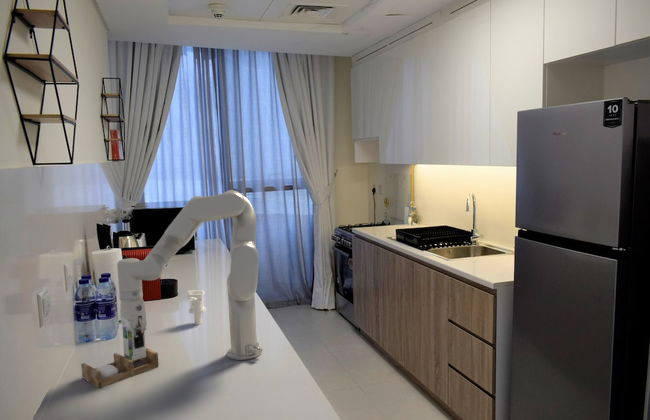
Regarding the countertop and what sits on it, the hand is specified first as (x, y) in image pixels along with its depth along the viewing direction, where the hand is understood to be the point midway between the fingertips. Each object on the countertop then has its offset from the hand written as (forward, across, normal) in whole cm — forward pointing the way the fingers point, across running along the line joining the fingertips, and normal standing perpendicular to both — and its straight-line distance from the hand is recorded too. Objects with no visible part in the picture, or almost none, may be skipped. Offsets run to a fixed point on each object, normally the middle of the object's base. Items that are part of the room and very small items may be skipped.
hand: (134, 344), depth 178 cm
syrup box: (+5, 0, 0) cm, 5 cm away
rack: (+8, 0, +4) cm, 9 cm away
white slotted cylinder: (+8, +23, -41) cm, 48 cm away
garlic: (+9, +1, +10) cm, 13 cm away
